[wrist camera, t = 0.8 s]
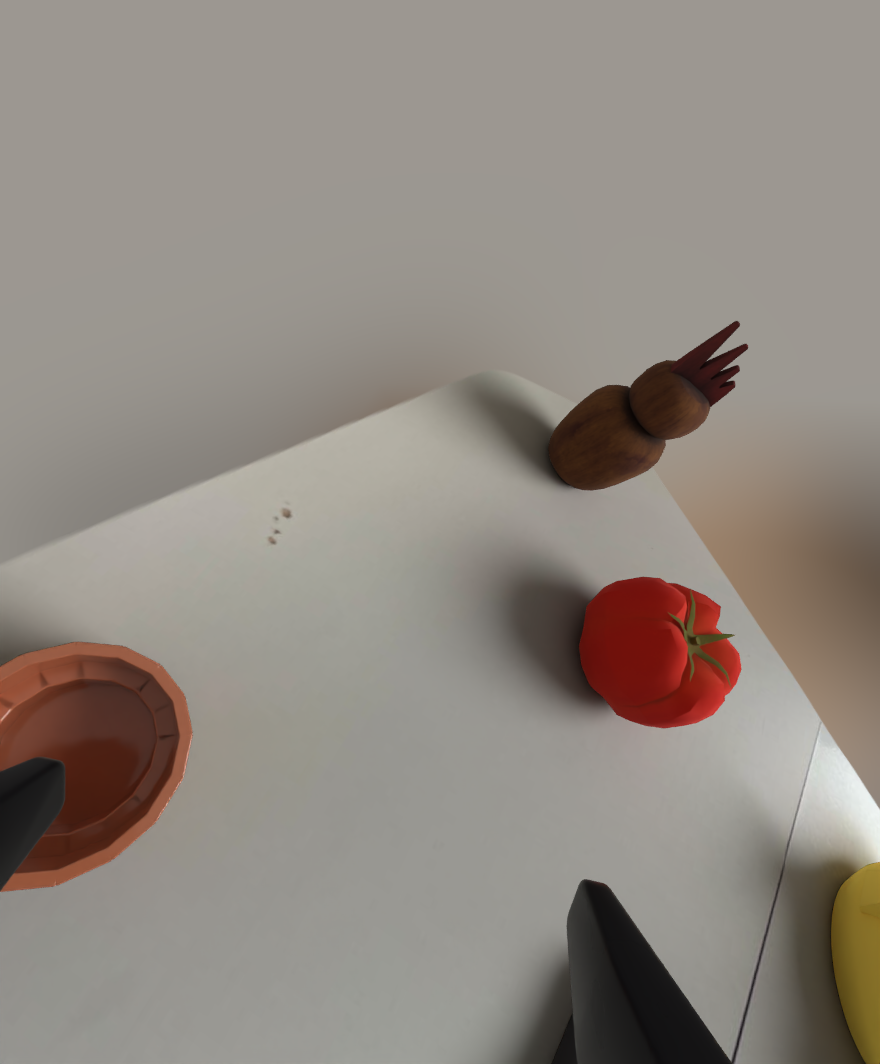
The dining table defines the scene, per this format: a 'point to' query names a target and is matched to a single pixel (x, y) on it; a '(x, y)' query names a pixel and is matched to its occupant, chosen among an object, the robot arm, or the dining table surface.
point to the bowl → (93, 749)
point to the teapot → (859, 957)
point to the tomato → (657, 652)
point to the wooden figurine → (641, 417)
